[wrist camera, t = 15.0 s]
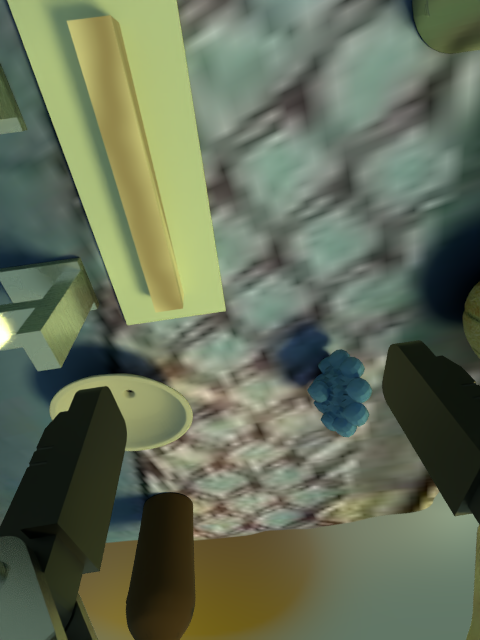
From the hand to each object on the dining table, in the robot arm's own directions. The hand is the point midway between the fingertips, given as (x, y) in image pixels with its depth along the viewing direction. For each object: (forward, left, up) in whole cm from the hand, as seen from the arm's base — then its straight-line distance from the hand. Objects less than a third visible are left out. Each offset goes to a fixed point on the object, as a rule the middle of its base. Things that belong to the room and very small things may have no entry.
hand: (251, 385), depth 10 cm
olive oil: (+18, +58, -28) cm, 67 cm away
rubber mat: (+7, 0, -28) cm, 29 cm away
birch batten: (+7, 0, -28) cm, 28 cm away
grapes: (-11, +26, -28) cm, 40 cm away
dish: (+16, +26, -28) cm, 42 cm away
